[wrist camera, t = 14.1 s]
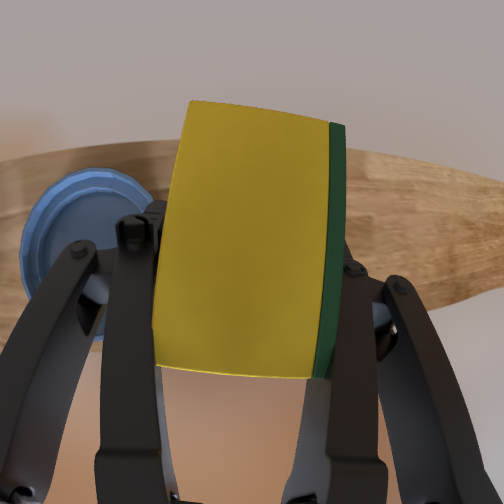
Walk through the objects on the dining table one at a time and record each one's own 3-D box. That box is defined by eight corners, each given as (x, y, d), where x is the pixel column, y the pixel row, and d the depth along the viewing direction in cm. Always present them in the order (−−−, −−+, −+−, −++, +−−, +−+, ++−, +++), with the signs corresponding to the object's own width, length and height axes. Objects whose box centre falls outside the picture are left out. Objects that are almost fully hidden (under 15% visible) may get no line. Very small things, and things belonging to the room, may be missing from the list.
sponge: (190, 318, 17) (148, 365, 6) (203, 205, 18) (189, 99, 7) (263, 326, 18) (330, 379, 7) (275, 214, 18) (346, 124, 8)
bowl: (30, 319, 26) (14, 321, 22) (51, 176, 28) (38, 166, 25) (164, 348, 28) (157, 356, 24) (183, 185, 30) (180, 173, 26)
